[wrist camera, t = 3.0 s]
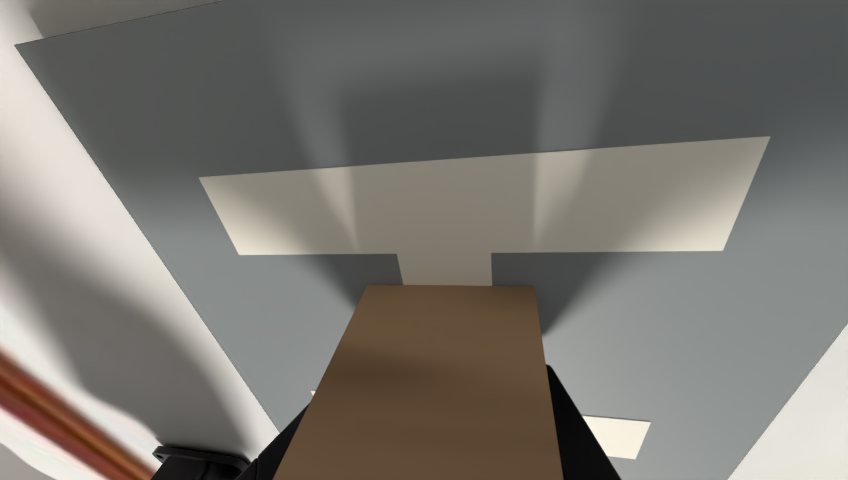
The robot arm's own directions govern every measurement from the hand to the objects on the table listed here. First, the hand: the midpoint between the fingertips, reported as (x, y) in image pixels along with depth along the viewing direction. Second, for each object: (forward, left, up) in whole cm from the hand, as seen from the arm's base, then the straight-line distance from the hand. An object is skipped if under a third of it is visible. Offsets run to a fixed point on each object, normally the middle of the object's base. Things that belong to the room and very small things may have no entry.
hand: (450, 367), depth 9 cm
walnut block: (0, 0, -1) cm, 1 cm away
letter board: (0, 0, -2) cm, 2 cm away
